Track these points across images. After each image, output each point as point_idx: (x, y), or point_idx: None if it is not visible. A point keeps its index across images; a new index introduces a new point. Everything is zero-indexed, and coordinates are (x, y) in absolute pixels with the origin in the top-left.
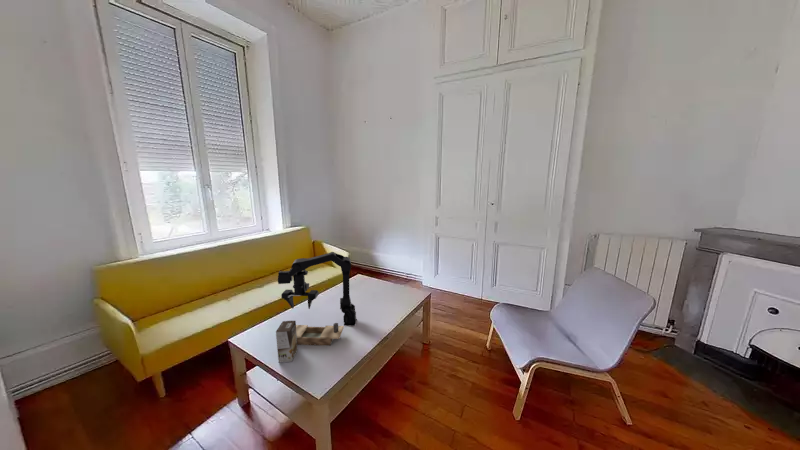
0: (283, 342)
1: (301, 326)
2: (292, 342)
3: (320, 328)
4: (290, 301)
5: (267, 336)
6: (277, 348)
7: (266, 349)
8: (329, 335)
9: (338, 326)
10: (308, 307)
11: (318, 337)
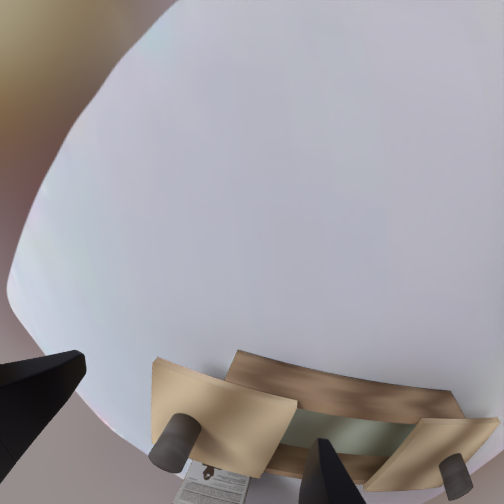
0: None
1: (248, 410)
2: None
3: (385, 417)
4: (11, 456)
5: (81, 321)
6: None
7: (122, 410)
8: (409, 483)
9: (479, 428)
10: (303, 480)
11: (360, 422)
